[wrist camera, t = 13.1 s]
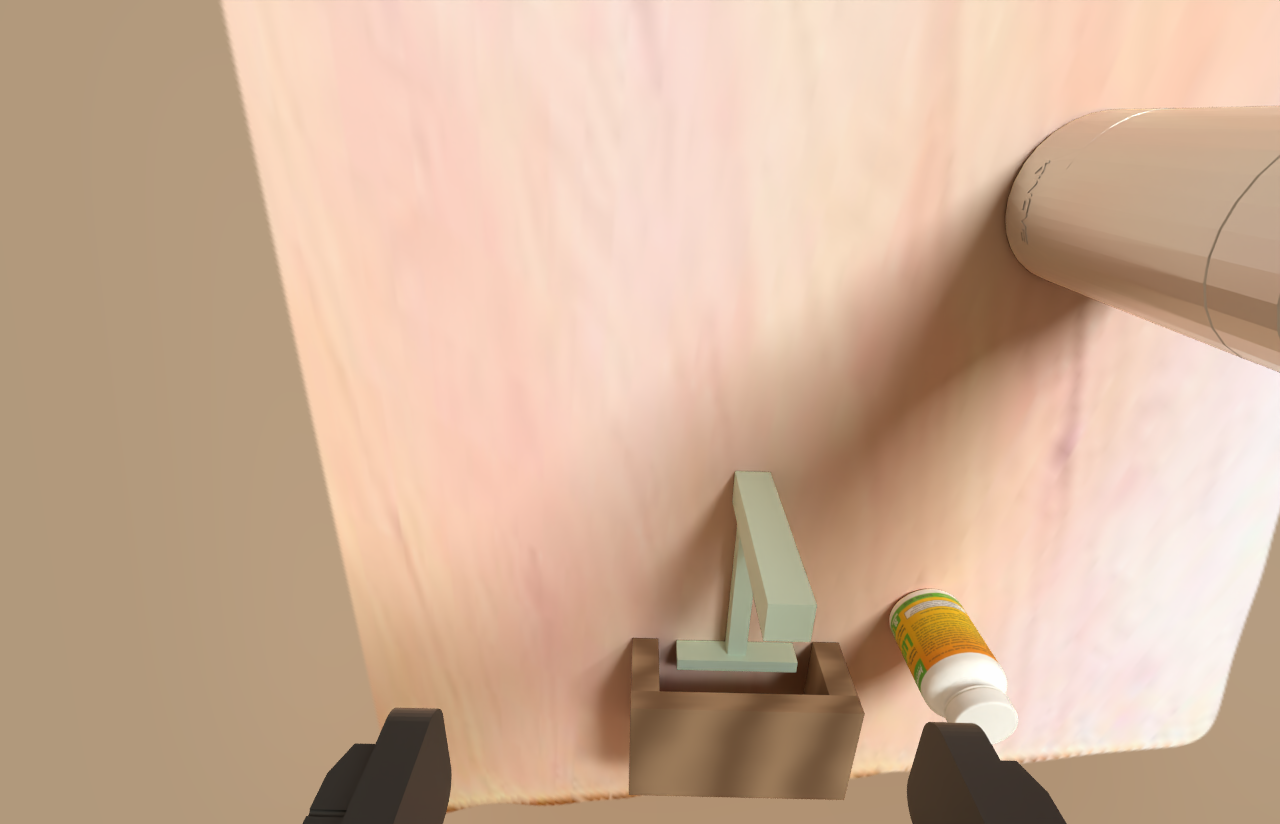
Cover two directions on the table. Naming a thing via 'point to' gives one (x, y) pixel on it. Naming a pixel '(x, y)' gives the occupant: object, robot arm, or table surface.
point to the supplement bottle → (952, 663)
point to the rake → (759, 589)
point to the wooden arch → (744, 734)
